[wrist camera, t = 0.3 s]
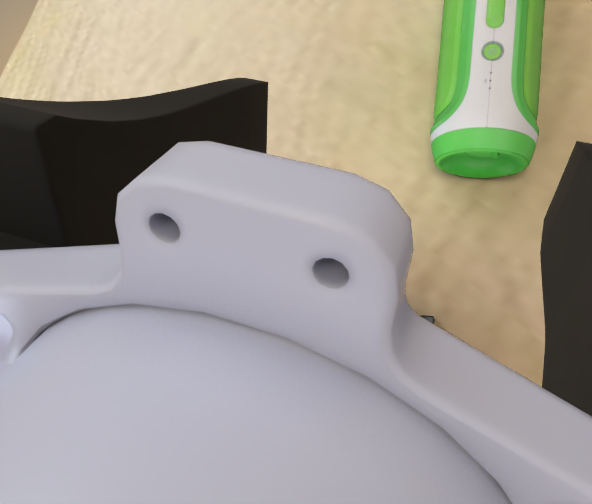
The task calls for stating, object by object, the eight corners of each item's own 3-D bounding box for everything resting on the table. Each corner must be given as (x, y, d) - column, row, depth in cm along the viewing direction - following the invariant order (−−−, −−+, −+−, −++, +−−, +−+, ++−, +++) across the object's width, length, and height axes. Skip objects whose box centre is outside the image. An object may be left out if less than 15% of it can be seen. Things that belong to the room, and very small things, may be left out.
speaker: (526, 183, 40) (547, 149, 33) (427, 178, 42) (427, 146, 35) (540, -30, 43) (563, -105, 35) (446, -26, 44) (449, -96, 37)
